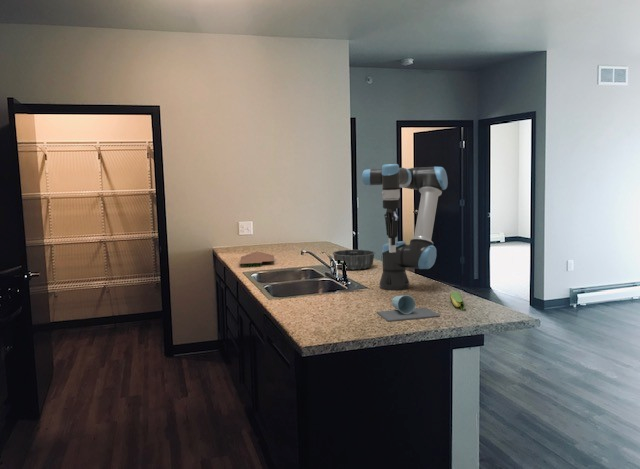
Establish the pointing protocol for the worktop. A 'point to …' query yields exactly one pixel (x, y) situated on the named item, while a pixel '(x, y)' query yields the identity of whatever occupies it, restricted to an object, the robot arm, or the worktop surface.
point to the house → (256, 258)
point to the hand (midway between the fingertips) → (392, 252)
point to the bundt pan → (355, 258)
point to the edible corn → (457, 300)
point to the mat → (416, 314)
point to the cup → (404, 304)
